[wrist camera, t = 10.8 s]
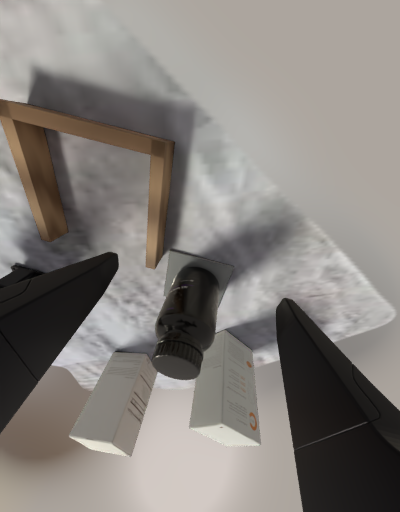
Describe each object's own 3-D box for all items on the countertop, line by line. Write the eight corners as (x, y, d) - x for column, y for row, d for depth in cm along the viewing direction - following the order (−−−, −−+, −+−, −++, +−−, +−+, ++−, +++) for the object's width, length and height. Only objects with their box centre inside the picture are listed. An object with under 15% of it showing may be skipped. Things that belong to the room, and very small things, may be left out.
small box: (200, 339, 35) (187, 428, 24) (225, 328, 32) (222, 424, 21) (227, 359, 38) (226, 447, 27) (253, 350, 35) (262, 446, 24)
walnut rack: (162, 256, 25) (154, 269, 23) (60, 229, 25) (41, 239, 23) (174, 141, 17) (165, 142, 15) (26, 103, 18) (-8, 98, 15)
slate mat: (216, 308, 30) (216, 309, 29) (164, 294, 30) (163, 295, 29) (234, 266, 24) (234, 267, 24) (170, 249, 24) (169, 250, 24)
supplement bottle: (183, 257, 24) (150, 338, 15) (228, 276, 25) (225, 366, 15) (168, 289, 28) (134, 370, 18) (207, 305, 29) (195, 392, 19)
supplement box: (127, 369, 48) (91, 450, 35) (113, 351, 43) (65, 436, 31) (158, 372, 46) (131, 458, 34) (147, 353, 41) (111, 445, 29)
